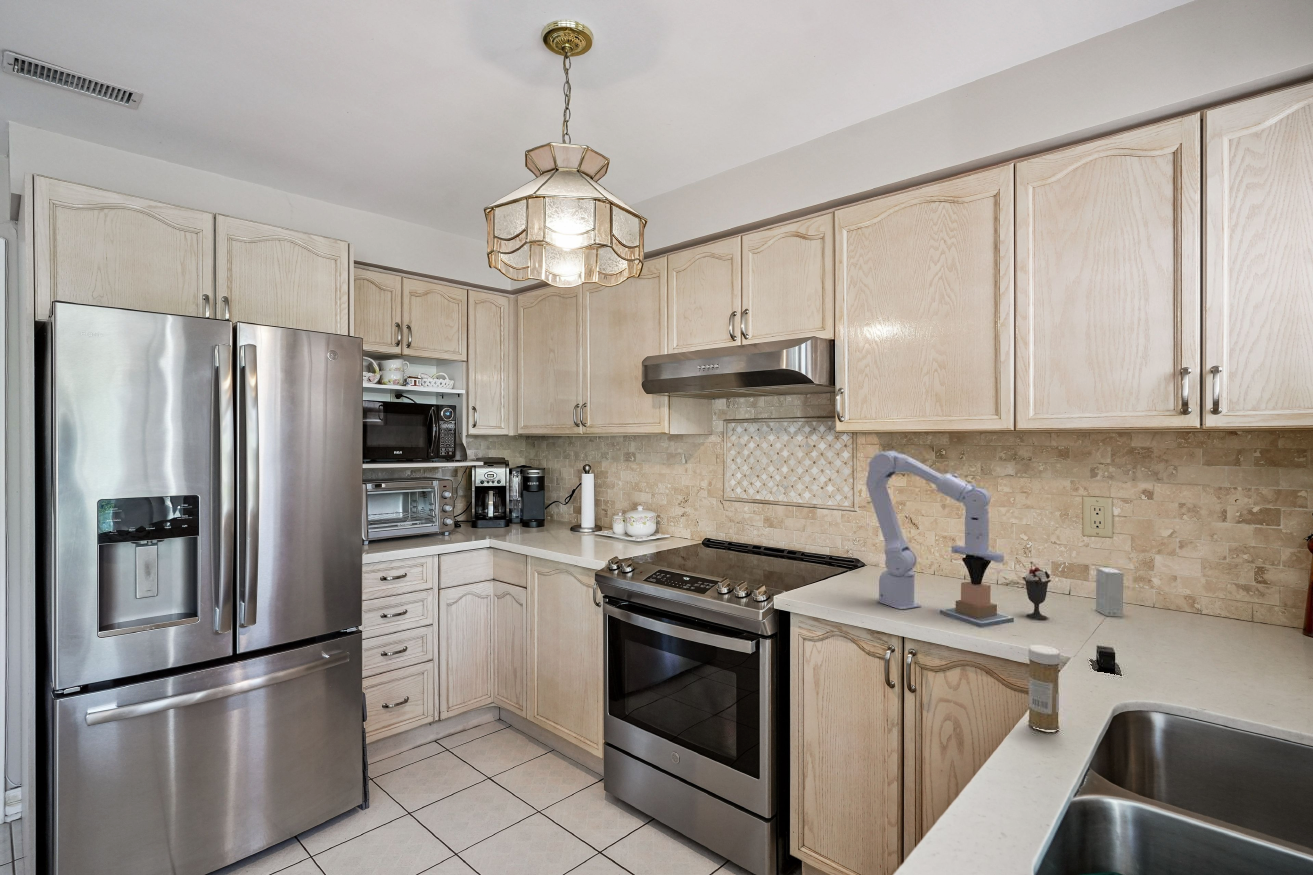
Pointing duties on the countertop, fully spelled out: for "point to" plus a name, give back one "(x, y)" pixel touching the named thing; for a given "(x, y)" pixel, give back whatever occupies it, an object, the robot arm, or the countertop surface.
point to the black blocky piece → (1105, 661)
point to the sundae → (1036, 590)
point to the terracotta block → (975, 593)
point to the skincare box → (1109, 592)
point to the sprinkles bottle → (1043, 687)
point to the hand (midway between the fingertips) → (976, 584)
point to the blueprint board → (977, 614)
